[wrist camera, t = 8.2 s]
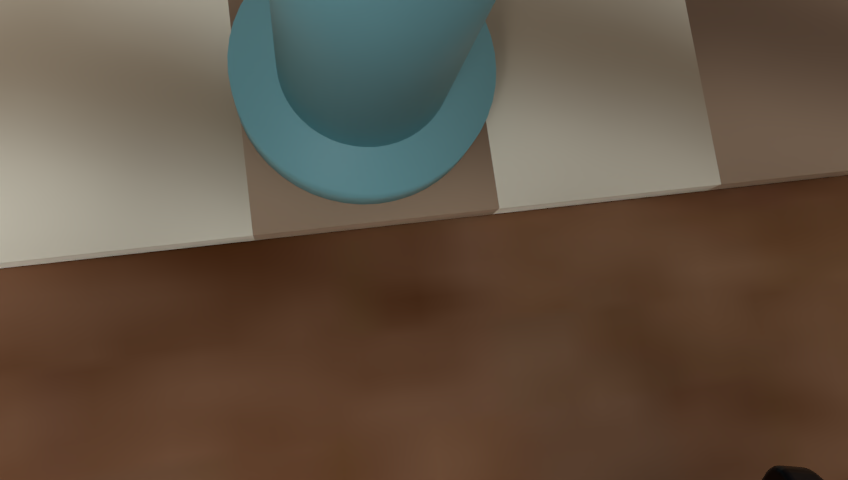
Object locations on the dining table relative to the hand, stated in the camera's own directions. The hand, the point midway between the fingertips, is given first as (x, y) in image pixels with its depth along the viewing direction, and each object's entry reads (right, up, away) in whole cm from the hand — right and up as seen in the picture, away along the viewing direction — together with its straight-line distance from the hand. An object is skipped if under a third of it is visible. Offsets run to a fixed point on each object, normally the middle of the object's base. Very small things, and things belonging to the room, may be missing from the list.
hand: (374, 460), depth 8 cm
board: (+2, +6, +9) cm, 10 cm away
